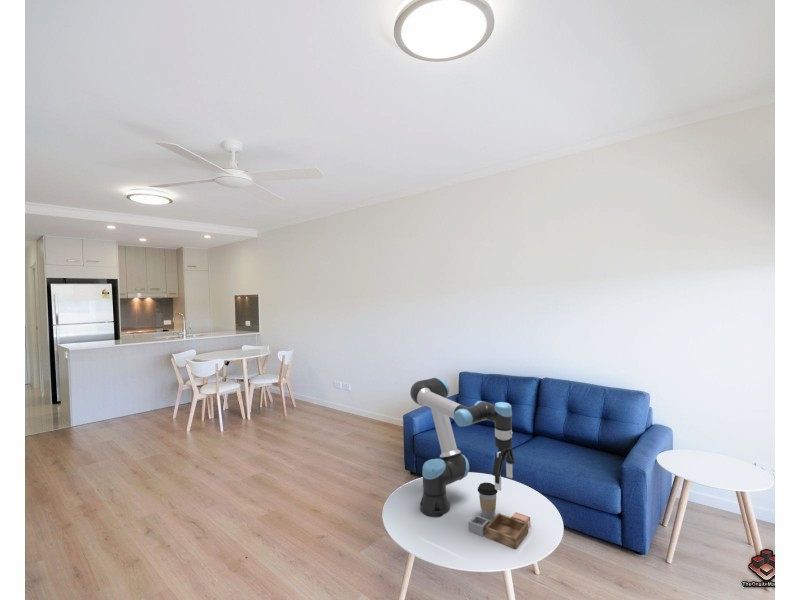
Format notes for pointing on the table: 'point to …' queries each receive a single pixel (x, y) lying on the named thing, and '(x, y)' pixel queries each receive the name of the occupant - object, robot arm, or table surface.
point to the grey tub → (476, 527)
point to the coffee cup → (487, 499)
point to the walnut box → (506, 530)
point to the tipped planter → (522, 518)
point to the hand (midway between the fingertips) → (503, 483)
